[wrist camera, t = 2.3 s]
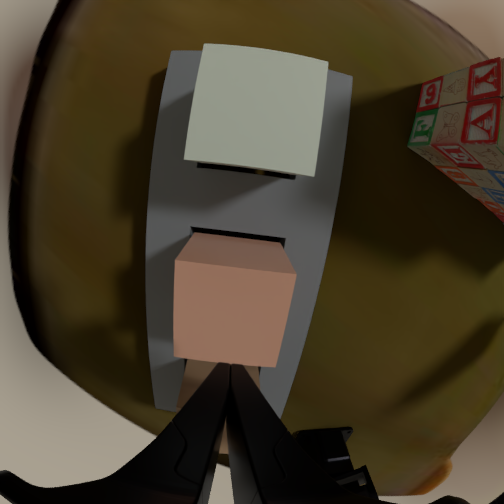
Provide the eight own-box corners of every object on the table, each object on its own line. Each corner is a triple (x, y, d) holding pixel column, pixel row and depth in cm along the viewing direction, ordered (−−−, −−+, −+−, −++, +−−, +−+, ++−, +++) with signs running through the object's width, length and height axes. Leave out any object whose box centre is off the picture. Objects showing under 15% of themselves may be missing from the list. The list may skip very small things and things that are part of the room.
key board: (277, 405, 23) (279, 421, 21) (160, 393, 22) (155, 408, 20) (341, 84, 15) (352, 76, 13) (178, 61, 14) (171, 50, 12)
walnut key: (248, 407, 20) (250, 455, 15) (188, 400, 20) (179, 448, 15) (258, 363, 19) (262, 415, 14) (188, 356, 18) (176, 407, 13)
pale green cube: (291, 174, 15) (314, 176, 10) (202, 162, 14) (183, 159, 10) (302, 92, 13) (328, 62, 9) (215, 79, 13) (204, 43, 8)
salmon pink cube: (267, 317, 17) (275, 367, 13) (189, 308, 17) (173, 356, 12) (280, 242, 16) (296, 274, 11) (194, 232, 16) (175, 259, 11)
